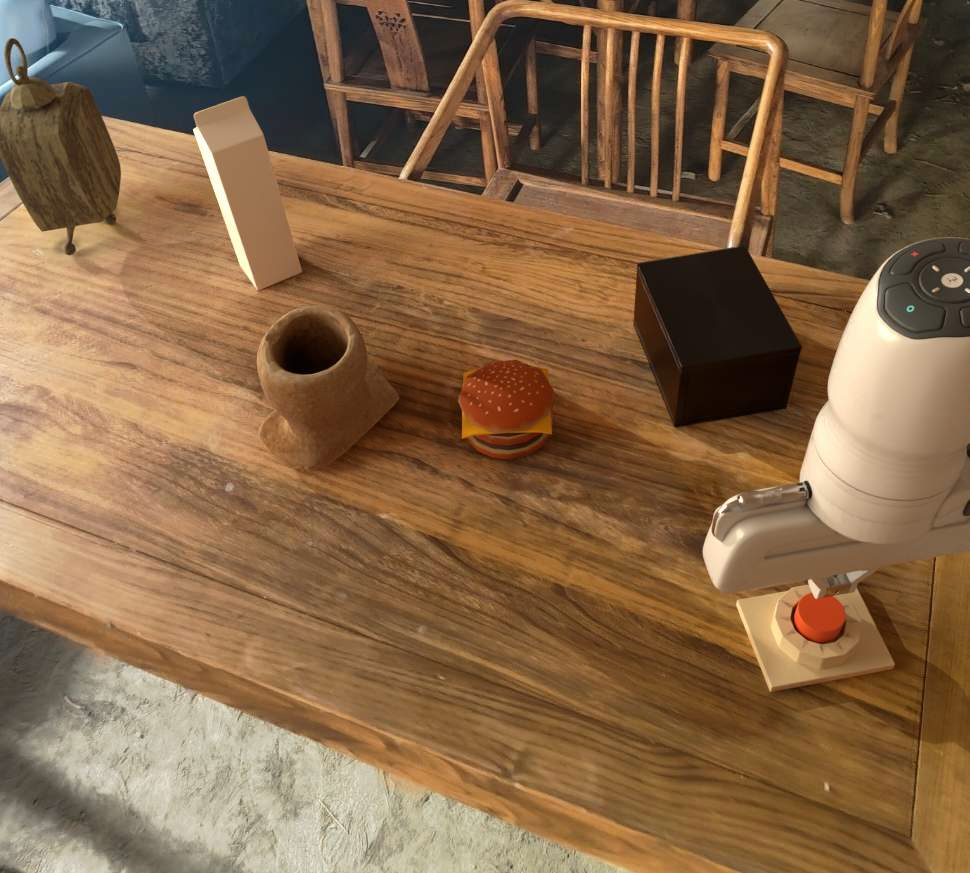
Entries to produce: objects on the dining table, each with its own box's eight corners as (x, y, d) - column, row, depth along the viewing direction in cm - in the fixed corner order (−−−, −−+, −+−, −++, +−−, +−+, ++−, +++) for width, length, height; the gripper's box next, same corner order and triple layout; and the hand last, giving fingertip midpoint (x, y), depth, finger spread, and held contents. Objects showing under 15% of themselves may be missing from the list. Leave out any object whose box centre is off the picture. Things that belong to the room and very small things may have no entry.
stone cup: (325, 500, 90) (289, 394, 79) (247, 444, 95) (203, 337, 84) (431, 408, 97) (412, 298, 85) (353, 360, 102) (325, 251, 91)
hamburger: (559, 457, 91) (558, 412, 86) (462, 465, 92) (455, 420, 87) (552, 388, 97) (550, 342, 92) (461, 395, 98) (454, 350, 93)
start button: (829, 599, 75) (834, 587, 74) (848, 638, 73) (853, 627, 71) (786, 607, 75) (790, 595, 73) (804, 646, 72) (808, 635, 71)
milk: (240, 266, 115) (182, 102, 98) (284, 247, 117) (235, 83, 100) (258, 292, 111) (201, 126, 95) (304, 272, 113) (255, 106, 97)
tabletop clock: (69, 201, 127) (-19, 20, 108) (135, 190, 128) (59, 8, 109) (56, 265, 118) (-43, 80, 99) (127, 253, 118) (43, 67, 99)
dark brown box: (633, 324, 103) (637, 263, 96) (734, 307, 103) (745, 245, 97) (674, 427, 93) (681, 366, 86) (786, 408, 93) (802, 346, 87)
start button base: (847, 592, 79) (857, 566, 76) (888, 677, 74) (902, 653, 71) (733, 613, 79) (739, 588, 76) (767, 700, 73) (775, 677, 70)
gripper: (734, 541, 57) (708, 649, 67) (1053, 485, 58) (979, 600, 68) (701, 463, 61) (682, 576, 71) (1000, 411, 62) (938, 531, 72)
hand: (829, 588), depth 70 cm, fingers closed
